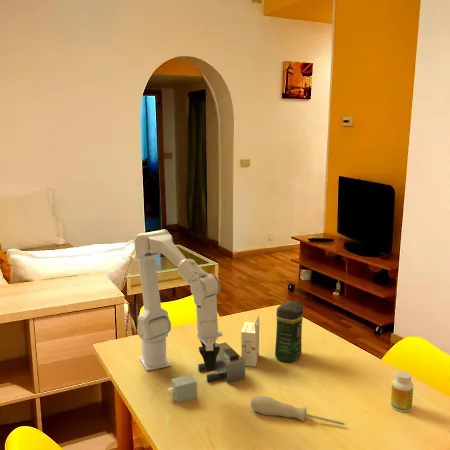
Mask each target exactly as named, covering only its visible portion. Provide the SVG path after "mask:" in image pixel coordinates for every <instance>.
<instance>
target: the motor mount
mask: <svg viewBox="0 0 450 450" xmlns="http://www.w3.org/2000/svg"><path fill="white" fill-rule="evenodd" d="M215 347H220V350H219V353H218V355H217V358H216V364H215V370H214V371H215V372H212V373H208V374H206V381H207V383H211V382H214V381H220V380H224V382H225V383H226V384H230V383H235V382H238V381H242V380H243V381H244V380H246V366H245V360H244V359H243V358H242V357H241V355H240V354H239V353H238V352H237V351H235V350H234V348H232V346H230V345H229V344H228V343H227V342H221V343H219V342H215ZM197 371H198V372H204V371H206V368H205V363H204V362H203V363H198V364H197Z"/></svg>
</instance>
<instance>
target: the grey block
mask: <svg viewBox="0 0 450 450" xmlns="http://www.w3.org/2000/svg"><path fill="white" fill-rule="evenodd" d="M170 380H171V381H170V384H171V387H168V388H167V395H168V396H170V397H173V399H174V401H175V403H181V402H185V401H189V400H193V399H197V398H198V395H197V394H198V389H197V386H198V385H197V384H198V383H197V380H196V379H195V378H194V376H193V375H192V374H187V375H182V376H179V377H174V378H171V379H170Z"/></svg>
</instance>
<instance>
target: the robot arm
mask: <svg viewBox="0 0 450 450" xmlns="http://www.w3.org/2000/svg"><path fill="white" fill-rule="evenodd" d="M133 242H134V249H135V257H136V259H137V260H138V269H139V270H138V271H139V276H140V277H139V278H140V283H141V292H142V299H143V300H142V303H143V308H144V309H143V310H142V312H141V313H139V315H138V316H137V327H136V332H137V335H138V337H139V338H140V340H141V354H142V355H141V356H140V357H139V360H140V362H141V364H142V365H143V366H144V369H145V371H147V372H149V371H153V370H157V369H161V368H167V367H170V366H171V363H170V361H169V360H168V357H167V337H168V334H169V333H170V332H171V330H172V321H171V319H170V316H169V313H168V310H166V309H164V308H163V307H162V304H161V297H160V287H159V281H158V273H157V270H158V269H157V264H156V259H157V258H158V257H159V255H160V254H162V255H163V256H164V257H166V258H167V259H168V260H169V262H171V263H172V264H173V265H174V266H176V267H177V274H178V275H179V276H180V277H181V278H182V279H183V280H184V281H185V282H186V284H187V285H188V286H189V289H190V292H191V295H192V296H193V302H194V305H196V306H195V307H196V308H195V309H196V324H197V326H196V327H197V335H196V337H197V339H198V340H199V342H200V343H201V346H198V351H199V353H200V355H201V356H202V357H201V358H202V359H203V363H205V368H206V370H205V371H206V372H208V373H209V372H215V371H216V370H215V364H216V358H217V355H218V353H219V350H220V347H215V343H217V340H218V338H219V337H223V331H219V324H218V304H217V303H218V302H217V301H218V300H217V294H219V293H220V291H221V283H220V279H219V278H218V276H217V275H215V274H213V273H209V272H206V271H205V270H204V269H203V268H202V267H201V266H200V265H199V264H198V263H197V262H196V260H194V259H193V258H186V256H185V255H184V254H183V253H182V252H181V251H180V249H179V248H178V247H177V245H176V244H175V243H174V241H173V235H172V234H170V232H169V231H168V230H167V229H159V230H155V231H150V232H149V231H148V232H141V233H138V234H137V236H136V237H135V238H134V241H133Z"/></svg>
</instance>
